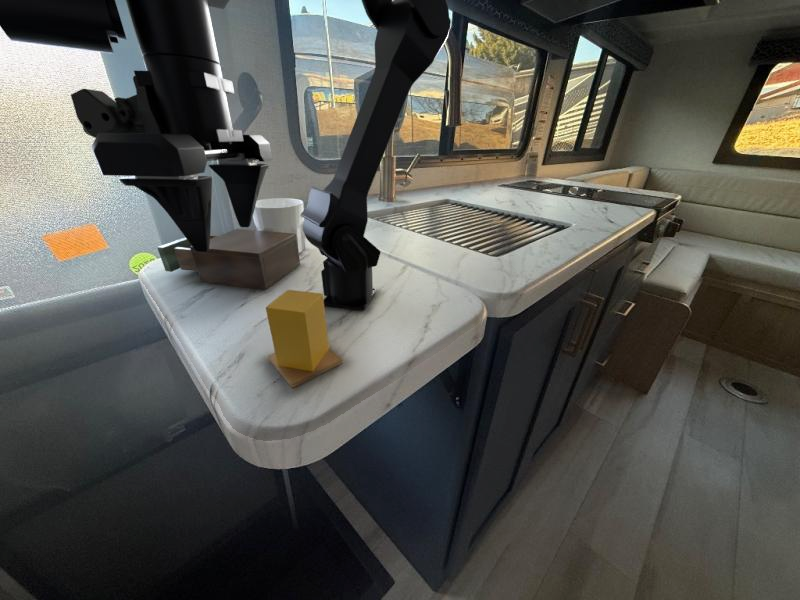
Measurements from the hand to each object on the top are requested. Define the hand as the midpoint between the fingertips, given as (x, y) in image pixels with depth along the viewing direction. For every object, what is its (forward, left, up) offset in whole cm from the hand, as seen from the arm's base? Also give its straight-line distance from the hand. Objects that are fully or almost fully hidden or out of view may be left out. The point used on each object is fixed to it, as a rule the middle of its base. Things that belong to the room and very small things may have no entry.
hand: (226, 237), depth 34 cm
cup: (+11, -28, -12) cm, 32 cm away
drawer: (+19, -16, -11) cm, 27 cm away
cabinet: (+10, -16, -12) cm, 22 cm away
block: (-10, +4, -11) cm, 16 cm away
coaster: (-10, +4, -12) cm, 16 cm away
